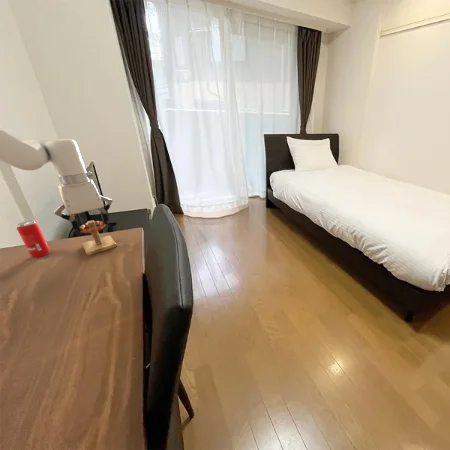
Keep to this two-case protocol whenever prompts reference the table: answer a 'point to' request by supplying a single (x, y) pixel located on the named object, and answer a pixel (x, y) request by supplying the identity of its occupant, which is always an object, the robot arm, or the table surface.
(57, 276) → the table surface
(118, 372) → the table surface
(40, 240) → the beverage can
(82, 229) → the ring
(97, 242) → the post
